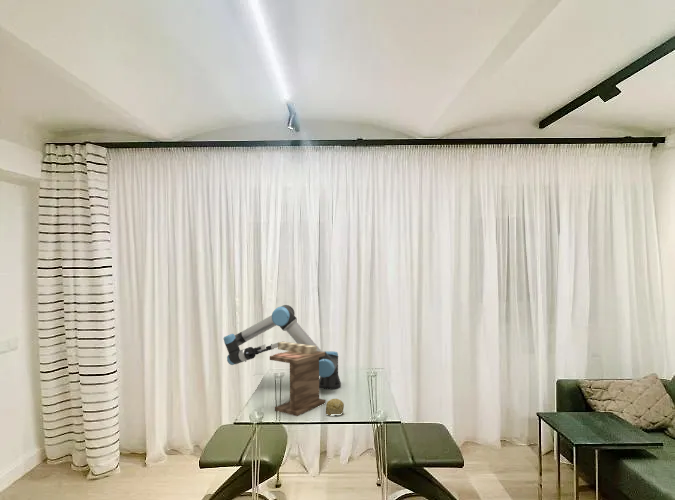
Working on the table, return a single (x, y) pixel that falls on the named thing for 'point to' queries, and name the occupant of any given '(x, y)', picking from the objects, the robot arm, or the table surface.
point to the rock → (334, 406)
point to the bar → (297, 347)
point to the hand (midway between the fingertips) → (272, 345)
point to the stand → (301, 381)
